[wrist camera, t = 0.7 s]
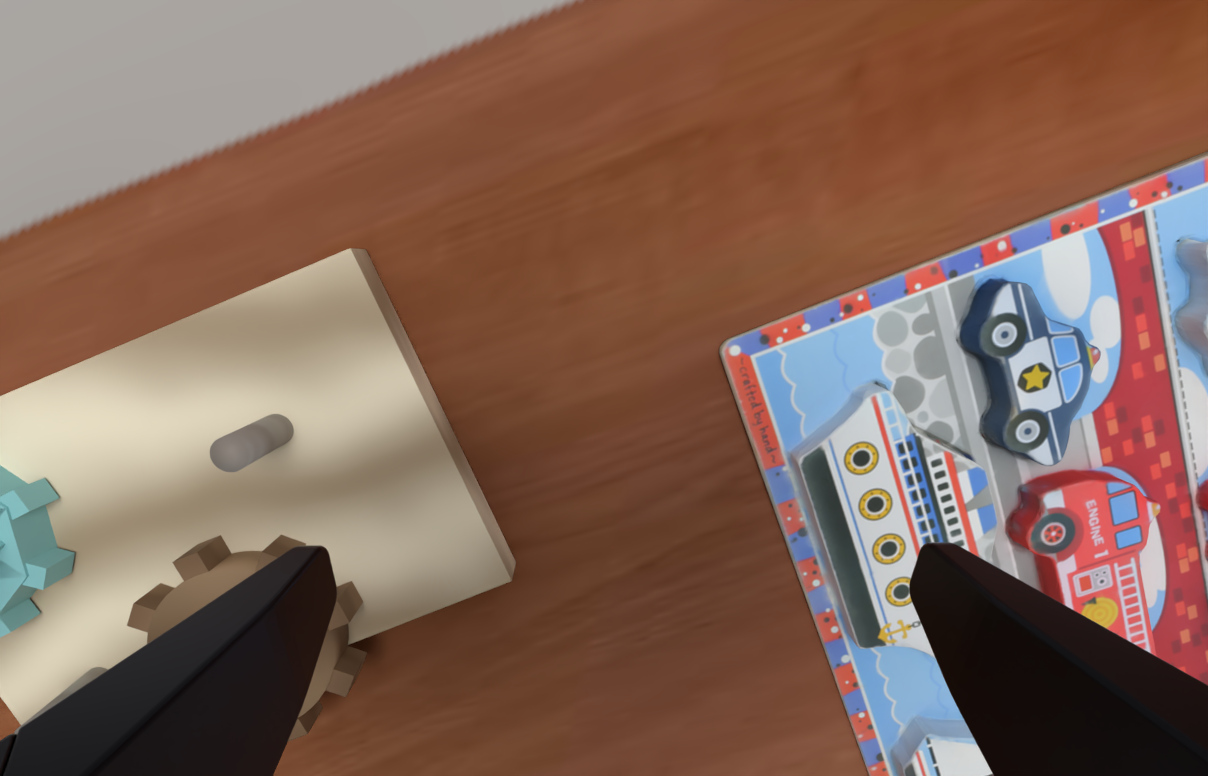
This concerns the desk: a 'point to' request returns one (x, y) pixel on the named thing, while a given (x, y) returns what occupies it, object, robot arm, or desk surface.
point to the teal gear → (26, 548)
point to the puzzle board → (996, 445)
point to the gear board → (245, 480)
